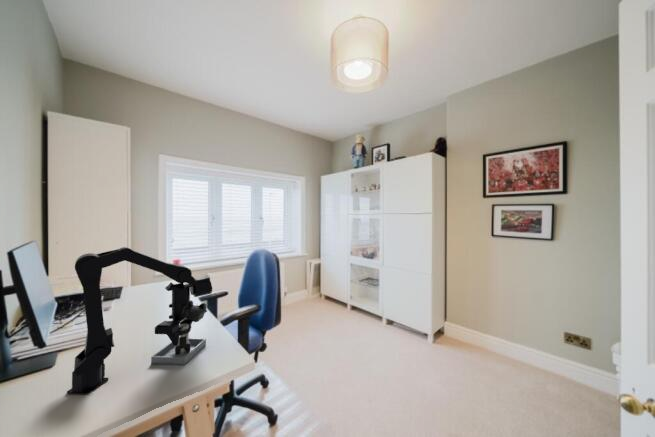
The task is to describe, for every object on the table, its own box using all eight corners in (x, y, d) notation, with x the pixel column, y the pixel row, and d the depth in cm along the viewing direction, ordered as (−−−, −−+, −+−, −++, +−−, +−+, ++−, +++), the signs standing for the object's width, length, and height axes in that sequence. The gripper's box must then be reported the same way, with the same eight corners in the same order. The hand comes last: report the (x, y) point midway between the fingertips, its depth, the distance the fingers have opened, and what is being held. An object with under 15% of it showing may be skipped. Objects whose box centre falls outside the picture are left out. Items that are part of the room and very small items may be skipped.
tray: (184, 365, 81) (184, 357, 81) (151, 364, 81) (151, 356, 81) (205, 345, 94) (205, 338, 94) (176, 344, 94) (176, 337, 94)
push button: (168, 358, 84) (169, 330, 84) (171, 350, 88) (171, 324, 88) (190, 354, 87) (190, 327, 86) (191, 346, 91) (191, 321, 91)
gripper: (185, 310, 78) (185, 356, 78) (215, 292, 97) (214, 330, 97) (153, 309, 78) (153, 355, 78) (188, 291, 97) (188, 329, 97)
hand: (180, 341), depth 88 cm, fingers open, 5 cm apart
